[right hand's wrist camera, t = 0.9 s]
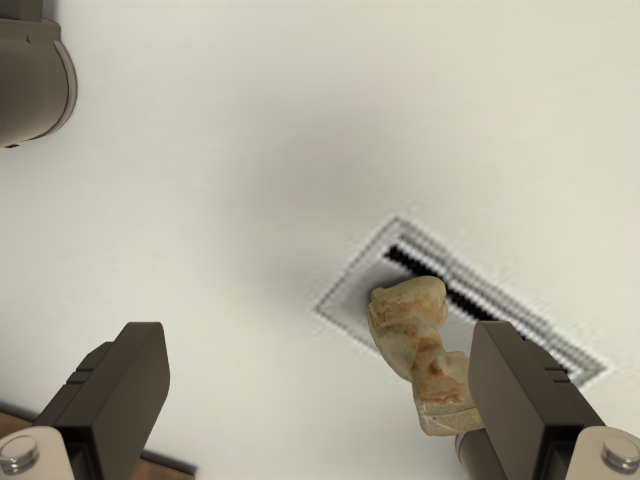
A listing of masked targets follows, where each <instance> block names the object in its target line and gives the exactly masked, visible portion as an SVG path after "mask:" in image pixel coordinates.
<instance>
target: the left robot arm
mask: <svg viewBox="0 0 640 480" xmlns="http://www.w3.org/2000/svg"><path fill="white" fill-rule="evenodd" d="M42 4H43V0H0V148H2V147H6V148H13V147H16V146H19V145H16V143H18V142H23V141H26V140H32V139H36V138H40V137H43V136H46V135H48V134H51V133H52V132H54V131H56V130H57V129H59V128H60V127H61V126H62V125H63V124H64V123H65V122H66V120H67V119H68V117H69V116H70V114H71V112H72V110H73V107H74V104H75V99H76V78H75V73H74V69H73V66H72V63H71V60H70V58H69V56H68V54H67V52H66V50H65V48H64V47H63V45H62V44H61V42H60V37H59V34H60V26H59V25H58V24H57V23H55V22H52V21H49V20H45V19H42Z"/></svg>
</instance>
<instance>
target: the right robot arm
mask: <svg viewBox="0 0 640 480" xmlns="http://www.w3.org/2000/svg"><path fill="white" fill-rule="evenodd" d="M169 385H170V370H169V363H168V357H167V350H166V343H165V336H164V330H163V326H162V324H161V323H160V322H129V323H127V324H126V326H125V327H124V328H123V330H122V331H121V332H120V334H119V335H118V336H117V338H116V339H115V341H114V342H105V343H103V344H102V345H100V346H99V347H98V348H96V349H95V350H93V351H92V352H90V353H89V354H87V356H86V357H85V358H84V360H83V361H82V362H81V363H80V365H79V366H78V367H77V368H76V372H73V373H72V375H71V376H70V377H69V379H68V380H67V381H66V385H63V386H62V387H61V389H60V390H59V391H58V392H57V394H56V395H55V396H54V397H53V399H52V400H51V401H50V403H49V404H48V405H47V406H46V408H45V409H44V410H43V411H42V413H41V414H40V415H39V416H38V418H37V419H36V420H35V421H34V423H33V424H32V425H31V427H28V428H24V429H21V430H18V431H15V432H13V433H11V434H8V435H6V436H5V437H3V438H1V439H0V480H129V479H130V477H131V475H132V472H133V470H134V468H135V466H136V464H137V461H138V459H139V457H140V455H141V453H142V450H143V448H144V446H145V444H146V442H147V439H148V437H149V435H150V433H151V431H152V428H153V426H154V424H155V422H156V420H157V417H158V415H159V413H160V411H161V409H162V407H163V404H164V402H165V400H166V398H167V395H168V391H169ZM468 386H469V391H470V395H471V397H472V400H473V402H474V404H475V406H476V409H477V411H478V413H479V415H480V417H481V420H482V422H483V424H484V426H485V428H481V429H477V430H472V431H468V432H464V433H461V434H458V436H457V440H456V451H457V454H458V457H459V460H460V462H461V464H462V465H463V468H464V471H465V474H466V477H467V480H640V439H639V438H637V437H635V436H634V435H632V434H629V433H627V432H625V431H622V430H619V429H616V428H612V427H607V426H606V425H605V423H604V422H603V421H602V420H601V418H600V417H599V416H598V415H597V413H596V412H595V411H594V409H593V408H592V407H591V406H590V404H589V403H588V402H587V401H586V399H585V398H584V397H583V395H582V394H581V393H580V392H579V390H578V389H577V388H576V386H575V385H574V384H573V383H571V380H570V379H569V378H568V376H567V375H566V374H565V372H564V371H561V367H560V366H559V365H558V364H557V362H556V361H555V360H554V358H553V357H552V356H551V355H550V353H548V352H547V351H545V350H544V349H542V348H541V347H540V346H538V345H537V344H535V343H534V342H532V341H523V339H522V338H521V337H520V335H519V334H518V332H517V331H516V330H515V328H514V327H513V326H512V324H511V323H510V322H508V321H478V322H477V323H476V325H475V328H474V333H473V340H472V347H471V354H470V361H469V367H468Z"/></svg>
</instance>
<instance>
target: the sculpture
mask: <svg viewBox="0 0 640 480" xmlns="http://www.w3.org/2000/svg"><path fill="white" fill-rule="evenodd" d="M445 294H446V289H445V284H444V283H443V282H442V281H441V280H440V279H439V278H437V277H433V276H421V277H416V278H413V279H410V280H407V281H404V282H402V283H400V284H397V285H395V286H393V287H390V288H387V289H384V288H383V287H378V288H376V289H374V290H373V291H372V293H371V300H372V302H371V303H370V304H369V305H368V306H367V318H368V323H369V328H370V332H371V335H372V337H373V339H374V342H375V344H376V346H377V347H378V349H379V350H380V352H381V354H382V356H383V358H384V360H385V361H386V362H387V364H388V365H389V366H390V367H391V368H392V369H393V370H394V371H395V372H396V373H397V374H398V375H399V376H400V377H401V378H403V379H405V380H407V381H409V382H411V383H412V388H413V397H414V402H415V405H416V408H417V412H418V416H419V421H420V426H421V428H422V430H423V431H424V432H425V433H426V434H427V435H429V436H452V435H457V434H461V433H464V432H468V431H472V430H477V429H481V428H485V426H484V424H483V422H482V420H481V417H480V415H479V413H478V411H477V409H476V406H475V404H474V402H473V400H472V397H471V395H470V391H469V386H468V367H469V361H470V358H467V357H466V356H465V355H464V354H463V353H462V352H460V351H456V352H449V353H446V352H445V350H444V348H443V345H442V342H441V338H440V335H439V333H438V331H437V330H438V329H439V328H440V327H441V326H442V325H443V324H444V323H445V321H446V319H447V314H448V309H447V305H446V303H445V301H444V297H445Z"/></svg>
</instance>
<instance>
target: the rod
mask: <svg viewBox="0 0 640 480" xmlns="http://www.w3.org/2000/svg"><path fill="white" fill-rule="evenodd" d="M32 424H33V423H32V422H29V421H26V420H23V419H20V418H17V417H14V416H11V415H8V414H5V413H2V412H0V439H1V438H3V437H5V436H6V435H8V434H11V433H13V432H15V431H18V430H21V429H24V428H28V427H31V425H32ZM129 480H195V476H192V475H189V474H186V473H183V472H180V471H177V470H174V469H171V468H168V467H165V466H162V465H159V464H156V463H153V462H150V461H147V460H144V459H141V458H139V459H138V461H137V464H136V466H135V468H134V470H133V472H132V475H131V477H130V479H129Z"/></svg>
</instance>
